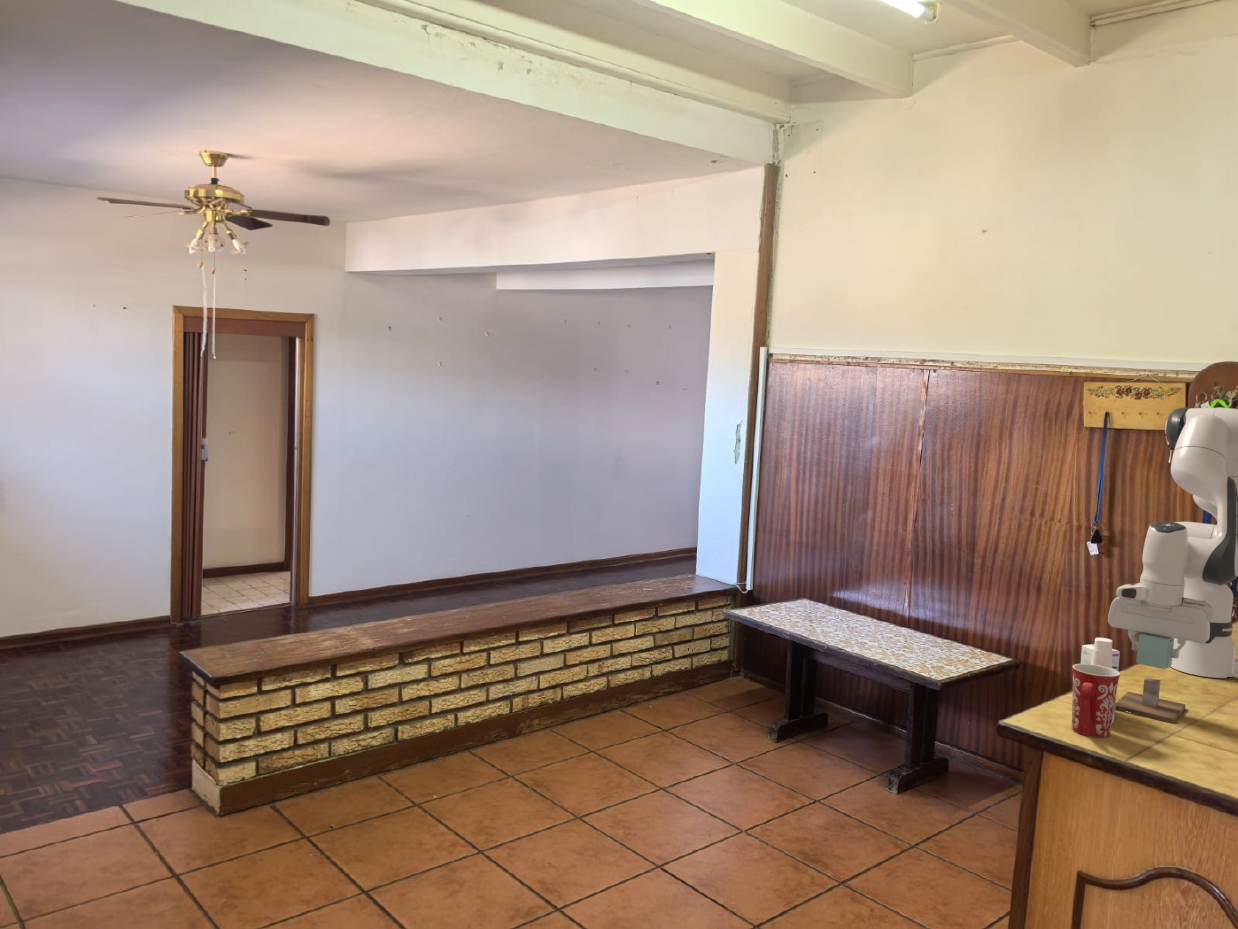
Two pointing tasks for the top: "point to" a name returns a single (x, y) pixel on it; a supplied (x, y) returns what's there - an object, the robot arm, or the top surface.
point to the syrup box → (1087, 656)
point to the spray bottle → (1103, 656)
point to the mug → (1093, 699)
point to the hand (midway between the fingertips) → (1154, 653)
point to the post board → (1150, 712)
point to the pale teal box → (1154, 650)
